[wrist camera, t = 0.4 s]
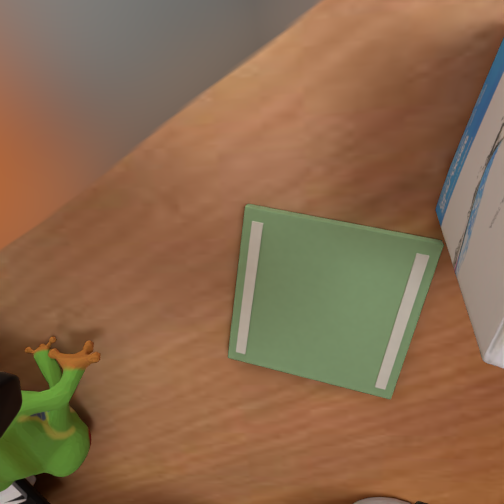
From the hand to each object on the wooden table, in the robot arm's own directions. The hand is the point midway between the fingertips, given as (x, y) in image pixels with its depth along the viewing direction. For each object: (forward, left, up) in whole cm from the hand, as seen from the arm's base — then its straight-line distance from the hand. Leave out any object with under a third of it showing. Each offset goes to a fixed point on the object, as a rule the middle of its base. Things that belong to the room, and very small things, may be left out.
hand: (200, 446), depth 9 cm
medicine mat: (-4, -2, -15) cm, 15 cm away
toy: (-12, +18, -12) cm, 25 cm away
